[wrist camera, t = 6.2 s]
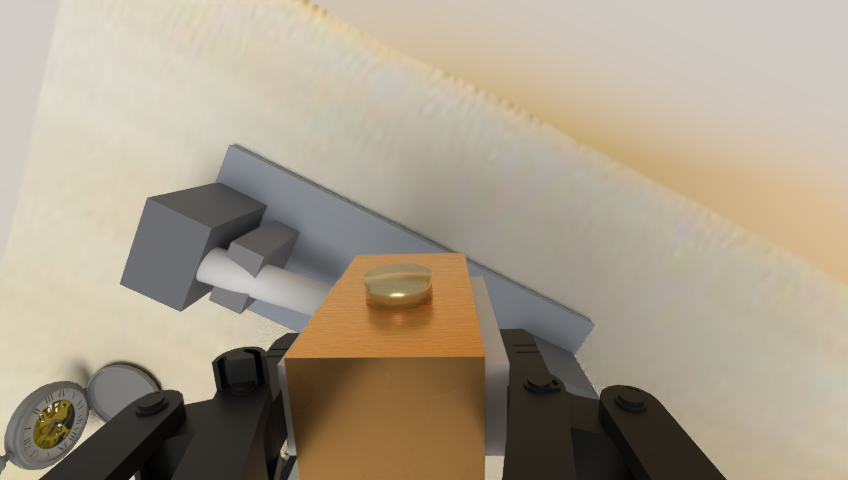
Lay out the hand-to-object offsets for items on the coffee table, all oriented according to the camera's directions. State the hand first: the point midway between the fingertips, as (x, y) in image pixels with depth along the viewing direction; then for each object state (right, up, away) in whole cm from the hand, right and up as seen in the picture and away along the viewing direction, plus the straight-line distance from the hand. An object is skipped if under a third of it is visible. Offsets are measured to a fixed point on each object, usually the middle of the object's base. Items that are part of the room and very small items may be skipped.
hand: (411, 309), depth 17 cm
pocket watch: (-28, -11, +21) cm, 37 cm away
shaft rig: (-3, -2, +18) cm, 18 cm away
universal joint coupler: (0, 0, 0) cm, 0 cm away
